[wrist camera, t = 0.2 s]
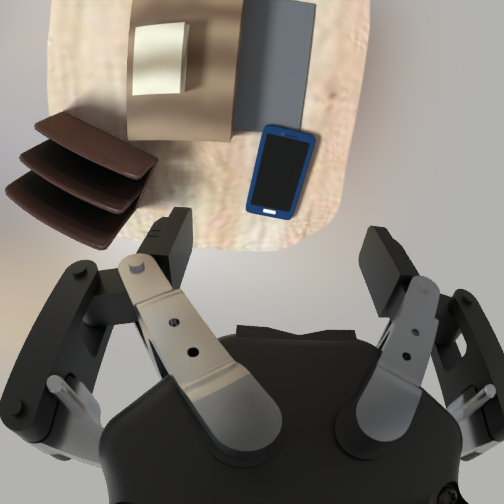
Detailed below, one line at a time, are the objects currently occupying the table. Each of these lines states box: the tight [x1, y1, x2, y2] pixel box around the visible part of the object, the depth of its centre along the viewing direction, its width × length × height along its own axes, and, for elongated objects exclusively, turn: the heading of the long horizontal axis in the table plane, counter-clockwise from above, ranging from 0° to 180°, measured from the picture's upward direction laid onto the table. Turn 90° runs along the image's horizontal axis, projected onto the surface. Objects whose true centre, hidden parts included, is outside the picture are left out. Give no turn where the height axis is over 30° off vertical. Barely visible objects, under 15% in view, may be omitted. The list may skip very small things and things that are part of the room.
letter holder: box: [5, 112, 158, 250], centre depth 33 cm, size 10×20×14 cm, turn 58°
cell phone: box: [246, 125, 315, 220], centre depth 40 cm, size 7×14×1 cm, turn 168°
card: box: [132, 22, 190, 96], centre depth 26 cm, size 9×6×2 cm, turn 175°
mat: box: [233, 0, 315, 132], centre depth 31 cm, size 20×9×1 cm, turn 175°
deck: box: [127, 0, 245, 143], centre depth 29 cm, size 22×14×4 cm, turn 175°
